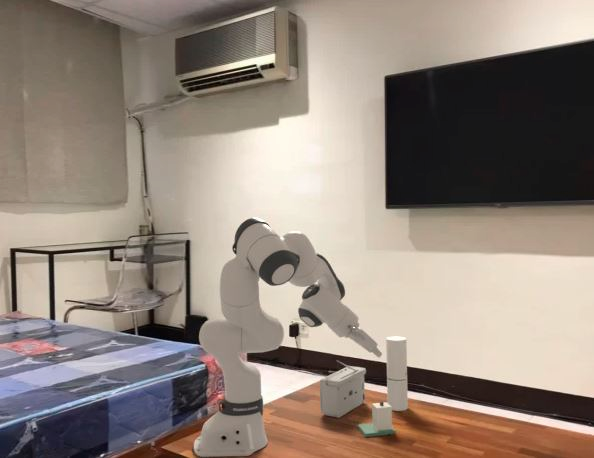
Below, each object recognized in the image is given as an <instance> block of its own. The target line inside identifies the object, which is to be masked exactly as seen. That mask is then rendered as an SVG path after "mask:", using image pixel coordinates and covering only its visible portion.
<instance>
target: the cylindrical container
mask: <svg viewBox="0 0 594 458" xmlns="http://www.w3.org/2000/svg"><path fill="white" fill-rule="evenodd" d="M385 342H386V344H385V345H386V346H385V348H386V351H385V352H386V384H387V385H386V388H387V389H386V393H387V399H386V400H387V403H388V404H389V405H390V406H391V407H392V411H393V412H394V411H396V412H401V411H402V412H403V411H406V410H407V409H409V408H408V406H409V404H408V401H409V400H408V366H407V365H408V361H407V359H408V357H407V355H408V353H407V351H408V350H407V337H404V336H399V335H397V336H395V335H394V336H387V337H386V339H385Z"/></svg>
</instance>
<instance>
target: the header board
mask: <svg viewBox="0 0 594 458" xmlns="http://www.w3.org/2000/svg"><path fill="white" fill-rule="evenodd" d="M357 428H358V430H359V431H360V433H362V435H363V436H364V437H365V438H368V437H377V436H379V437H380V436H387V435H388V434H390V435H396V433H397V432H396V431H397V430H395V428H394V427H393V426H392V429H383V430H377V429H376V428H375V427H374V426H373V425H372V422H371V423H369V422H368V423H361V424H357ZM388 436H389V435H388Z"/></svg>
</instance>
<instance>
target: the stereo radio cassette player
mask: <svg viewBox="0 0 594 458" xmlns="http://www.w3.org/2000/svg"><path fill="white" fill-rule="evenodd" d="M336 362H337V363H340V364H341V365H343V366H345V367H344V368H342V369H340V370H338V371H335V372H333V373H331V374H329V375H327V376H325V377H323V378H321V379H320V380H319V381H320V382H319V404H320V413H321V414H323V415H324V416H326V417H327V416H328V417H334V418H338V419H339V418H341V417H342V416H344V415H346V414H348V413H349V412H351V411H353V410H354V409H356V408H357V407H359V406H361V405H362V404H364V403H365V399H366V393H365V391H366V389H365V375H366V373H367V369H366V367H362V366H361V367H360V366H354V365H353V366H351V365H347V364H345V363H344V362H341V361H339V360H337V359H336Z"/></svg>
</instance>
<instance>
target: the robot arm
mask: <svg viewBox="0 0 594 458" xmlns="http://www.w3.org/2000/svg"><path fill="white" fill-rule="evenodd" d="M233 241H234V243H233V244H232V249H231V250H232V252H233V254H234V255H235V257H234V258H232V259H230V260H228V261H227V262H226V263H225V264H224V265H223V266H222V269H221V273H220V278H219V279H220V280H219V295H220V296H219V297H220V308H221V313H222V315H223V317H218V318H212V319H210V320H206V321H205V322H204V323H203V324H202V326H201V327H200V330H199V333H198V334H199V335H198V340H199V341H198V342H199V344H200V346H201V348H202V349H203V350H204V351H205V353H207V354H209V355H210V356H211V357H212V358H213V359H215V360H216V362H217V364H218V365H219V367H220V369H221V371H222V375H223V382H224V395H225V396H224V397H222V396H218V397H217V398H216V404H217V405H218V411H217V412H216V413H215V414H214V415H212V416H211V417H209V419H207V420H206V421H205V422H204V424H203V425H202V428H201V431H200V435H199V436H198V437H197V438H195V440H194V443H193V452H194V454H195V455H196V456H197V457H201V458H202V457H203V458H204V457H205V458H206V457H207V458H209V457H211V458H213V457H247V456H250V455H253V453H255V452H256V451H259V450H261V449H263V448H264V447H266V446H267V445H268V442H269V440H268V438H267V434H266V431H265V424H264V420H263V419H264V418H263V417H264V397H263V395H262V375H261V372H260V370H259V369H258V368H257V367H256V366H255V365H253V364H251V363H249V362H247V361H245V360H243V358H242V357H241V356H240V355H241V354H251V353H252V354H253V353H255V354H257V353H265V352H270V351H274V350H279V349H278V348H279V347H280V346H281V345H282V343H283V341H284V338H285V331H284V330H285V329H284V327H283V324H282V323H281V321H280V319H278V318H276V317H273V316H272V315H270V314H268V313H267V312H266V311H264V309H263V308H262V307H261V303H260V302H261V301H260V287H259V281H260V279H261V280H262V281H263V282H264V283H266V284H267V285H269V286H272V287H275V286H282V285H284V284H286V283H288V282H289V283H290V284H291V285H293V286H295V287H300V288H303V287H304V288H305V287H306V289H305V290H304V291H303V292H302V295H301V300H302V302H301V303H300V305H299V307H298V309H297V312H298V316H299V319H300V320H301V321H302V322H303V323H304V324H305V325H306V326H308V327H309V328H317V327H320V326H322V325H323V324H326V325H327V327H328V328H329V329H330V330H331V331H332V332H333V333H334V334H335V335H336V336H338V337H339V338H343V337H344V338H345V339H349V340H352V341H353V342H354V343H356V344H358V346H360V347H362V348H363V349H364V350H365V351H367V352H368V353H373V354H374V355H375V357H377V358H381V357H382V355H383V352H381V350H379V349H378V343H377V342H376V340H374V338H372V337H371V336H370V335H369V334H368V333H367V332H366V331H364V330H363V329H362V328H360V323H359V320H360V319H359V316H358V315H357V314H356V313H355V312H354V311H353V310H352V309H351V308H350V307H349V306H347V305H346V304H344V303H342V300H343V299H344V297H345V295H346V289H345V285H344V283H343V282H342V281H341V280H340V279H339V278H338V276H337V275H336V273H335V271H334V269H333V268H332V265H331V263H329V261H328V260H327V258H326V257H325V256H323V255H322V254H319V253H317V252H316V250H315V248H314V245H313V244H312V242H311V241H310V239H309V237H308V236H307V235H306V234H304V233H303V232H301V231H290V232H287V233H285V234H283V235H282V237H281V236H280V235H279V234H277V232H276V231H275V230H274V229H272V228H271V226H270V225H269V223H267V222H266V221H265V220H263V219H261V218H259V217H251V218H248V219H246V220H244V221H243V222H242V223H241V224H239V226H238V227H237V230H236V232H235V235H234V240H233Z"/></svg>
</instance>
